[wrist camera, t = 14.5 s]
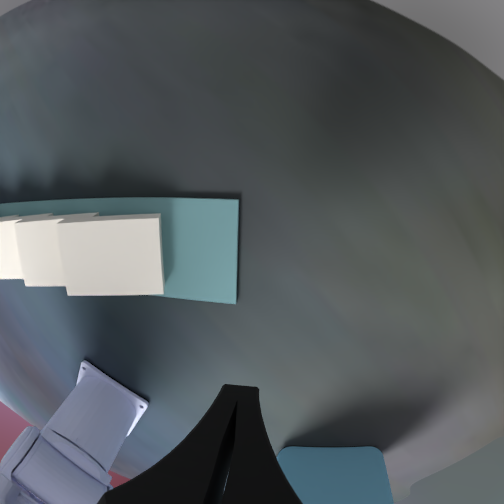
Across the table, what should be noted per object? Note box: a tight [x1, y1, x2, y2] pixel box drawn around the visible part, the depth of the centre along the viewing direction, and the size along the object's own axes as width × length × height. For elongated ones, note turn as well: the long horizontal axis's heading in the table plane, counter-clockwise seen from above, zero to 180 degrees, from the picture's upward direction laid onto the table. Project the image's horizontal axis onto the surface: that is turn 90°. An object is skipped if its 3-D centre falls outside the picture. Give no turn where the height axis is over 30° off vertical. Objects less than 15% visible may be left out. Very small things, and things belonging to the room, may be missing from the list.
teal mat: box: [0, 197, 239, 304], centre depth 19 cm, size 28×7×1 cm, turn 88°
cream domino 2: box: [14, 212, 99, 286], centre depth 17 cm, size 2×5×7 cm
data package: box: [277, 446, 394, 504], centre depth 19 cm, size 12×4×12 cm, turn 83°
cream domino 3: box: [56, 213, 165, 296], centre depth 17 cm, size 2×5×7 cm
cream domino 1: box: [0, 213, 53, 279], centre depth 18 cm, size 2×5×7 cm
